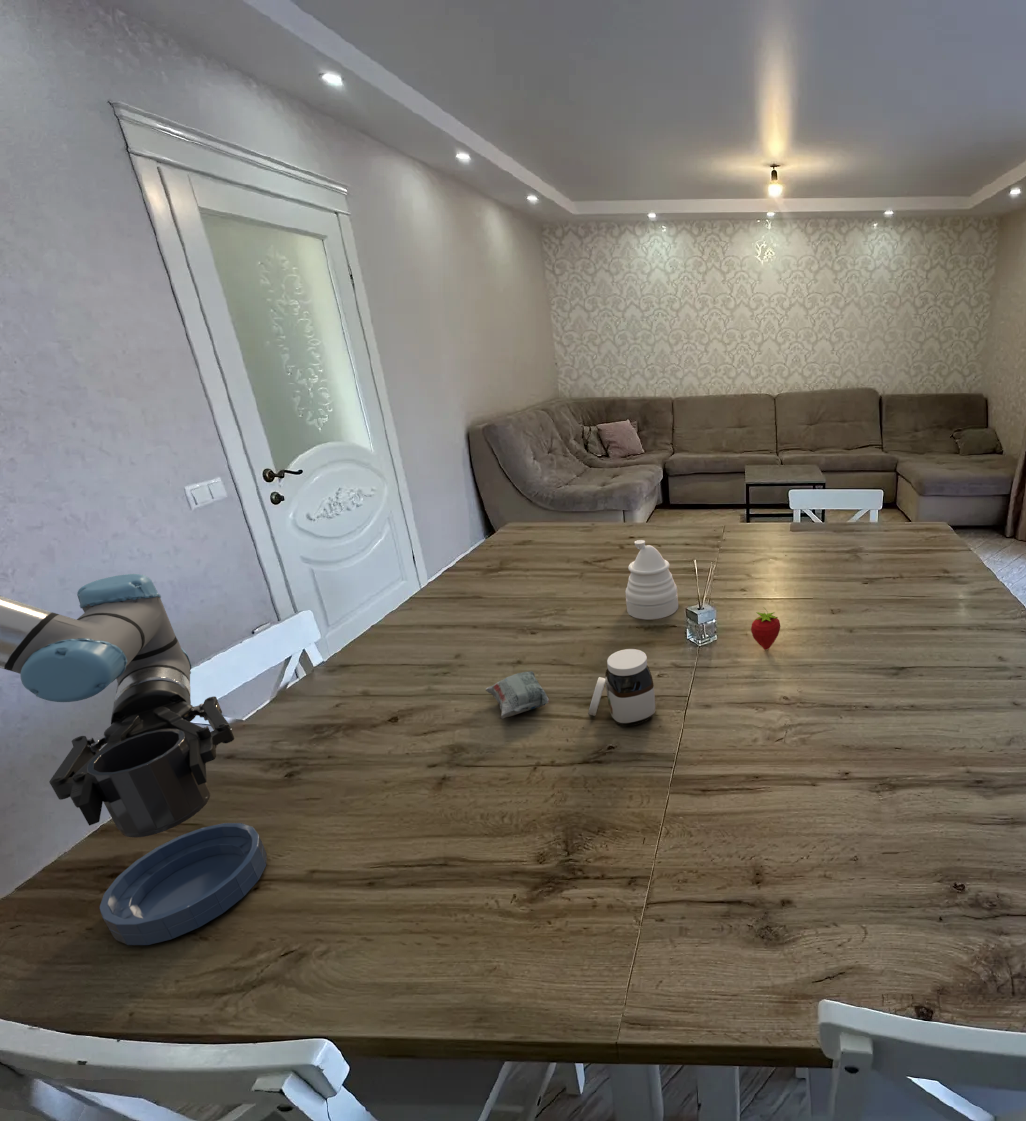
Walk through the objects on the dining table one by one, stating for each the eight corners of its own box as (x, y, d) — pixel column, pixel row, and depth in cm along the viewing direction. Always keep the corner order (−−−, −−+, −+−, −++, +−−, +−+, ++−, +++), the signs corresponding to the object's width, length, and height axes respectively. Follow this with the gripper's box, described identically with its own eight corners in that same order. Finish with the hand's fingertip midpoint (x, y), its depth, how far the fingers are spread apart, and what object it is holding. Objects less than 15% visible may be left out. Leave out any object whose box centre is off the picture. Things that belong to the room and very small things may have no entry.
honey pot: (633, 623, 139) (627, 553, 133) (621, 602, 150) (615, 536, 144) (684, 613, 144) (681, 545, 137) (669, 593, 155) (665, 529, 148)
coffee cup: (99, 838, 67) (65, 775, 63) (164, 787, 74) (136, 728, 71) (169, 837, 67) (138, 774, 63) (227, 786, 74) (202, 728, 71)
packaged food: (502, 729, 102) (498, 705, 101) (487, 697, 111) (482, 675, 110) (552, 712, 107) (549, 689, 105) (533, 682, 116) (530, 661, 114)
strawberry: (745, 653, 126) (744, 611, 122) (762, 638, 132) (762, 598, 128) (768, 660, 123) (768, 618, 119) (785, 645, 129) (786, 604, 125)
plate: (76, 949, 66) (61, 924, 65) (190, 845, 80) (179, 823, 78) (202, 948, 66) (190, 924, 65) (294, 844, 80) (286, 822, 78)
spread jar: (662, 722, 104) (657, 666, 99) (599, 742, 99) (591, 684, 95) (640, 689, 114) (635, 636, 109) (582, 705, 109) (574, 651, 104)
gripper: (257, 697, 88) (273, 775, 73) (53, 761, 75) (19, 873, 60) (241, 654, 86) (254, 725, 70) (26, 713, 73) (-17, 816, 57)
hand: (145, 793), depth 65 cm, fingers closed on coffee cup, 8 cm apart
